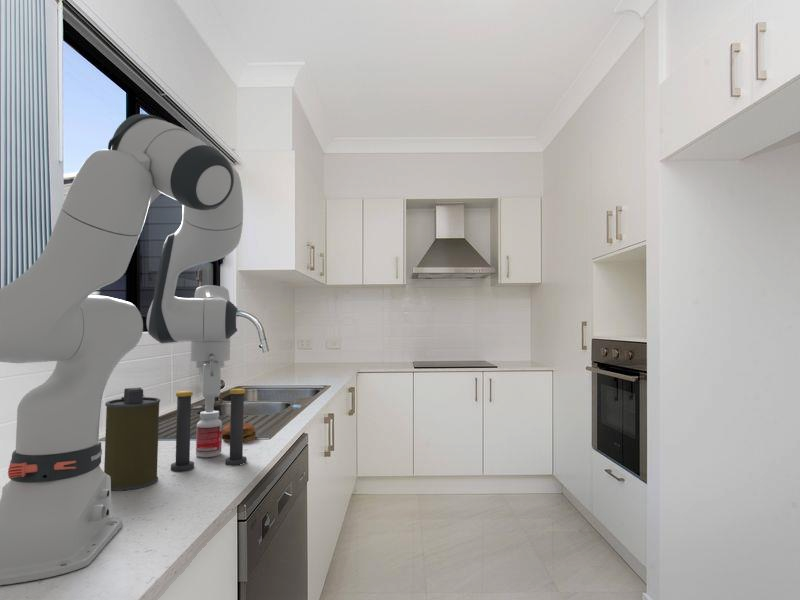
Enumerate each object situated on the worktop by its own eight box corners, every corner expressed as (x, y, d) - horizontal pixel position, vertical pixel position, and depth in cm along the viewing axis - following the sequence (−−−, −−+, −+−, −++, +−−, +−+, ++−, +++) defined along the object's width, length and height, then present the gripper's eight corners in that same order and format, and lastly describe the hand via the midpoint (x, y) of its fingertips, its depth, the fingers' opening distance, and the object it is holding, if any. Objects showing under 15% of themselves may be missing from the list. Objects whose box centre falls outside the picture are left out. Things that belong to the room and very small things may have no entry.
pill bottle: (223, 455, 126) (224, 412, 126) (198, 459, 122) (199, 414, 123) (218, 450, 131) (219, 408, 131) (193, 453, 127) (194, 411, 128)
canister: (164, 483, 104) (167, 389, 105) (109, 494, 97) (112, 393, 98) (149, 471, 112) (151, 384, 113) (96, 481, 105) (100, 387, 106)
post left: (193, 469, 114) (195, 392, 114) (170, 472, 112) (172, 394, 112) (193, 464, 118) (195, 390, 119) (171, 466, 116) (173, 391, 117)
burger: (238, 434, 150) (239, 419, 150) (262, 438, 145) (262, 422, 146) (213, 442, 141) (213, 425, 141) (237, 446, 137) (237, 429, 137)
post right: (247, 464, 118) (249, 390, 119) (225, 466, 116) (227, 391, 117) (245, 459, 123) (247, 387, 124) (224, 461, 121) (226, 388, 122)
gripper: (227, 355, 109) (226, 418, 109) (221, 350, 128) (220, 403, 127) (197, 356, 107) (195, 420, 106) (195, 351, 125) (194, 405, 125)
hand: (209, 411), depth 117 cm, fingers closed
